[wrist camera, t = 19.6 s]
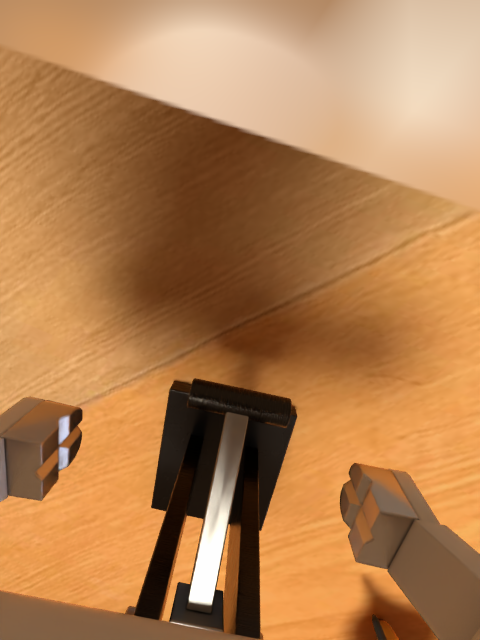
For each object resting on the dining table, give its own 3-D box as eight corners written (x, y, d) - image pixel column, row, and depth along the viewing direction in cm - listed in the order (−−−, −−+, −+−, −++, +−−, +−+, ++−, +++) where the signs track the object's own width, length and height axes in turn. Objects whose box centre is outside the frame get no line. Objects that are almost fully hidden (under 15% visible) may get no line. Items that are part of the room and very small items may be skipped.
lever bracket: (174, 380, 21) (64, 583, 9) (295, 406, 21) (348, 641, 9) (155, 495, 25) (56, 758, 12) (261, 517, 25) (266, 799, 12)
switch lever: (196, 378, 16) (191, 377, 14) (285, 397, 16) (295, 399, 14) (132, 646, 13) (113, 701, 11) (240, 668, 13) (244, 727, 11)
